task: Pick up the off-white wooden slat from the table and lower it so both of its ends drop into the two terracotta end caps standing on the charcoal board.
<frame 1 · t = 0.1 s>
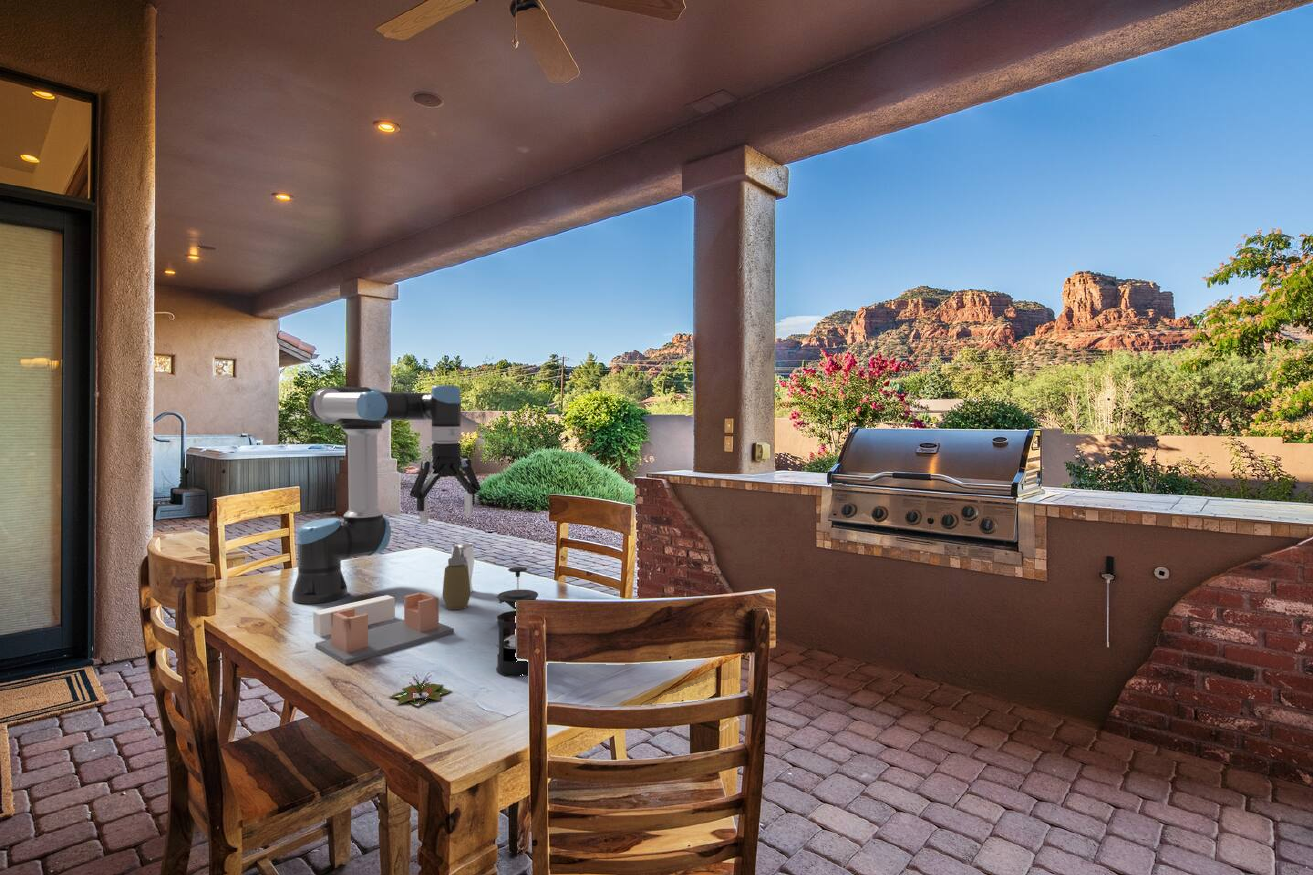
hand: (446, 520, 179), 28 cm above the table, tool pointing down, fingers open, 13 cm apart
slat: (355, 626, 176), on the table
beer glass: (462, 592, 208), on the table
squeeze bottle: (456, 607, 193), on the table
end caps: (387, 640, 165), on the table
french press: (519, 668, 148), on the table
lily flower: (420, 698, 134), on the table
pottery: (519, 635, 170), on the table
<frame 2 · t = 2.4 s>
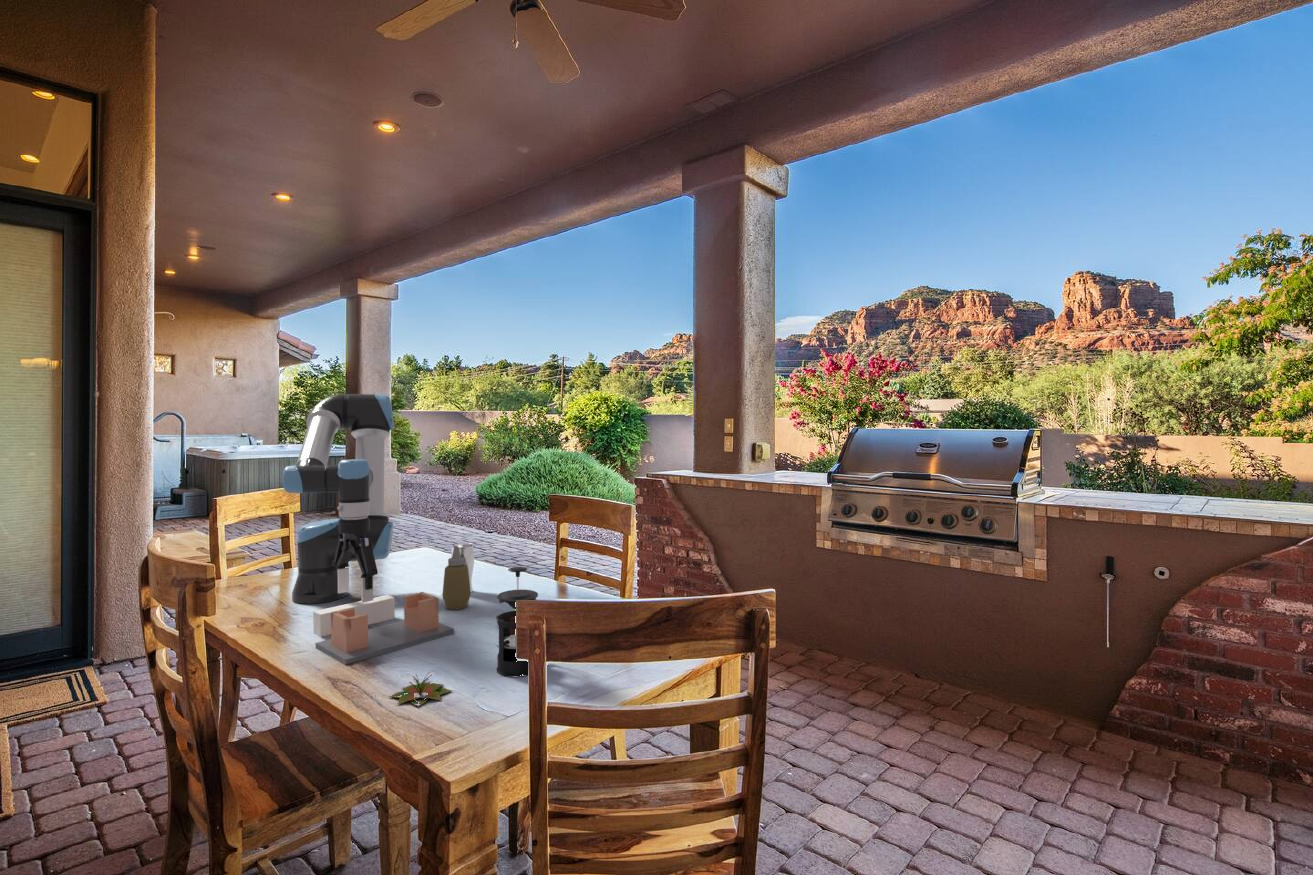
hand: (355, 596, 175), 8 cm above the table, tool pointing down, fingers open, 13 cm apart
nothing on the table moved.
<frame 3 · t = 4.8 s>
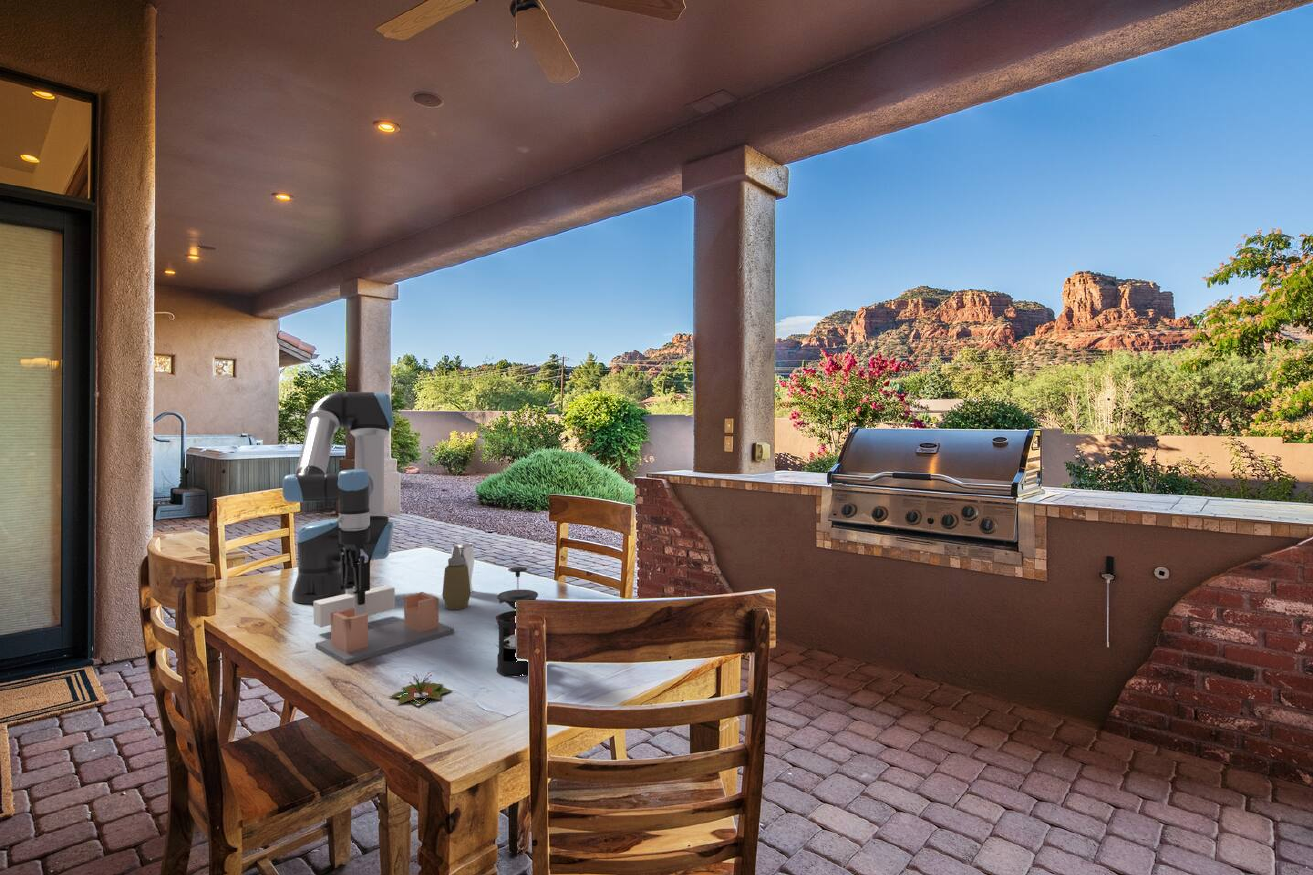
hand: (355, 613, 176), 3 cm above the table, tool pointing down, fingers closed on slat, 4 cm apart
slat: (355, 615, 176), point 2 cm above the table, touching gripper
everything else where it was.
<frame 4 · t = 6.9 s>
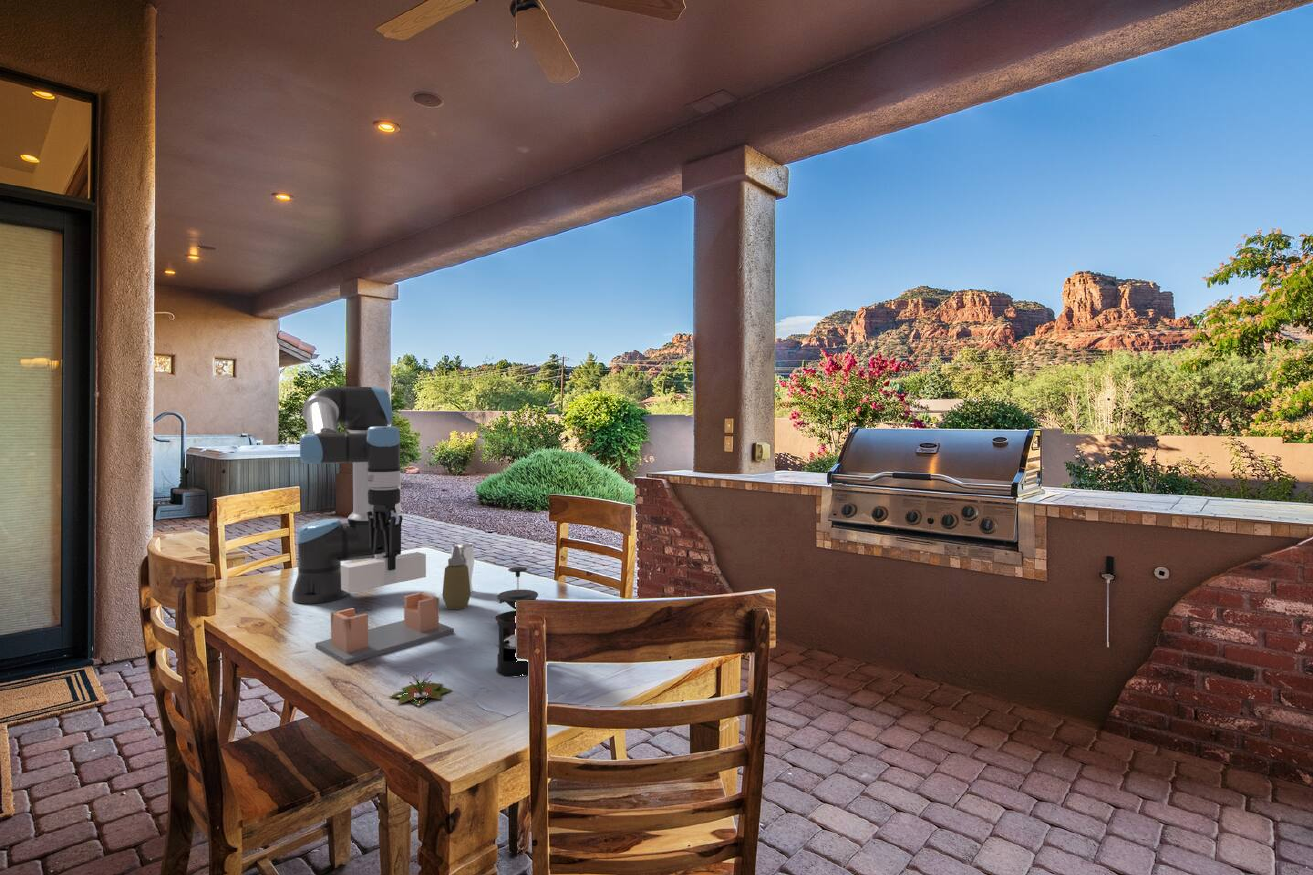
hand: (385, 580, 164), 15 cm above the table, tool pointing down, fingers closed on slat, 4 cm apart
slat: (385, 583, 164), point 15 cm above the table, touching gripper
everything else where it was.
when the fingers open (6 cm above the table, at t = 8.8 s): slat stays where it is, resting on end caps.
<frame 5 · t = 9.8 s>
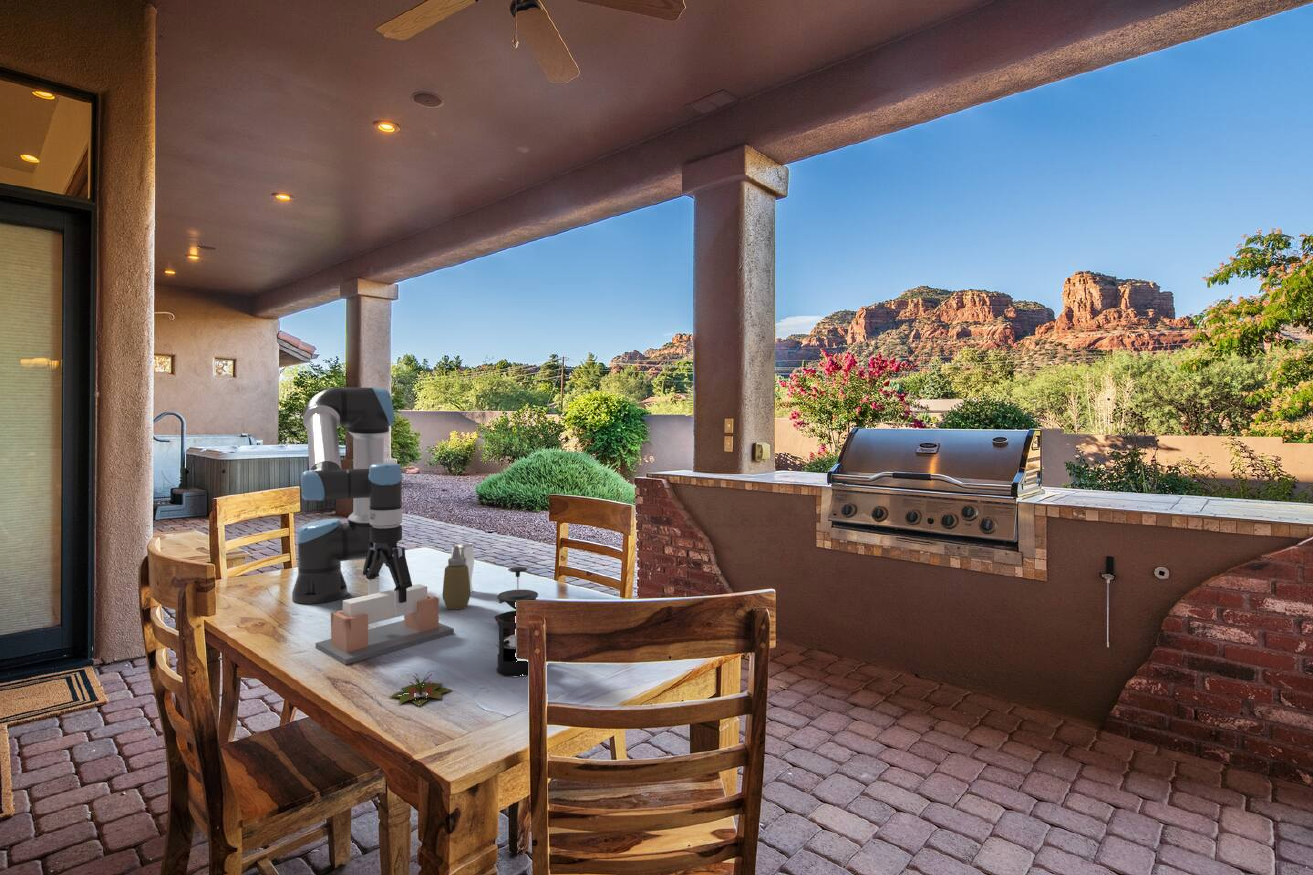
hand: (386, 609, 165), 8 cm above the table, tool pointing down, fingers open, 13 cm apart
slat: (386, 616, 164), point 6 cm above the table, touching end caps
everything else where it was.
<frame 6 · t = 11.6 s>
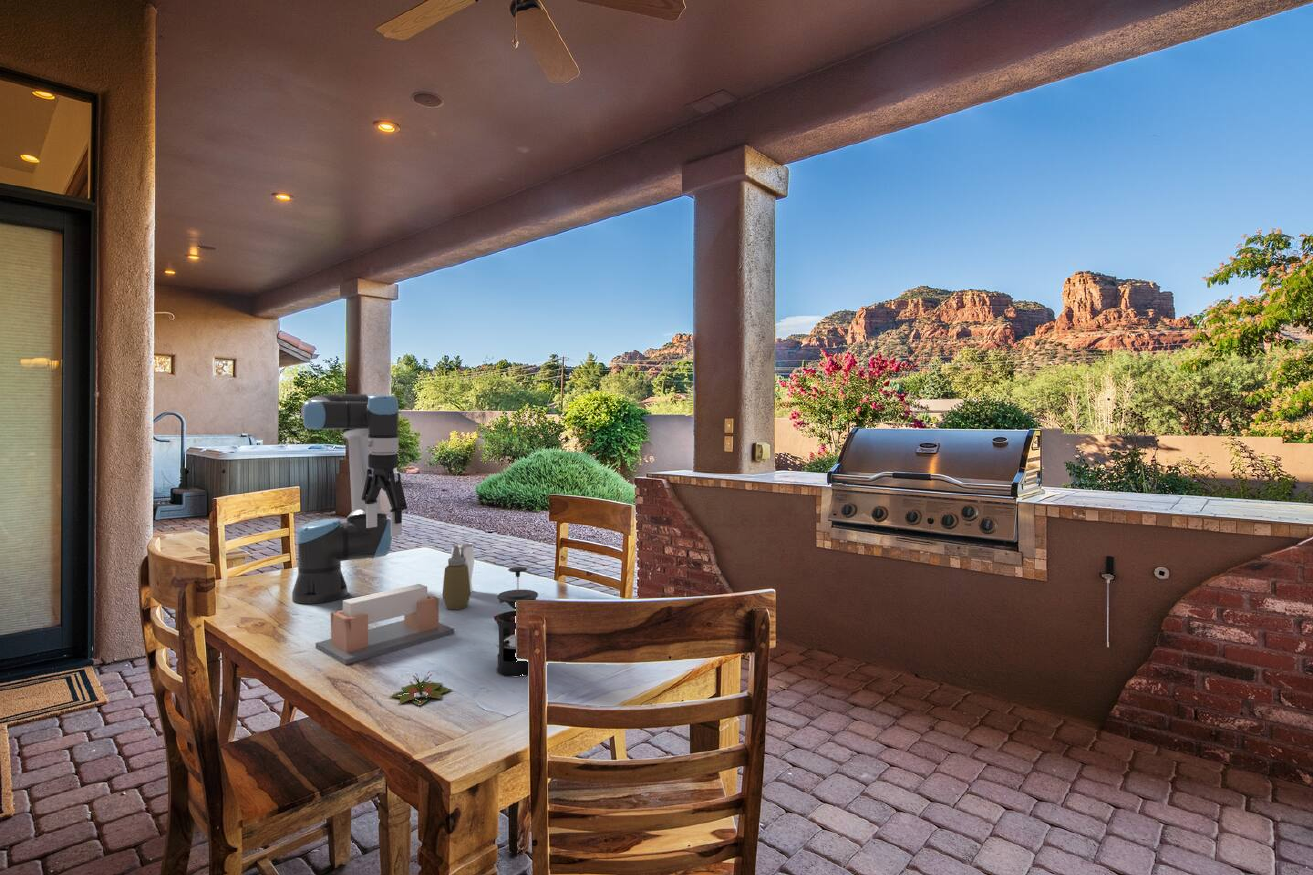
hand: (383, 531, 178), 25 cm above the table, tool pointing down, fingers open, 13 cm apart
nothing on the table moved.
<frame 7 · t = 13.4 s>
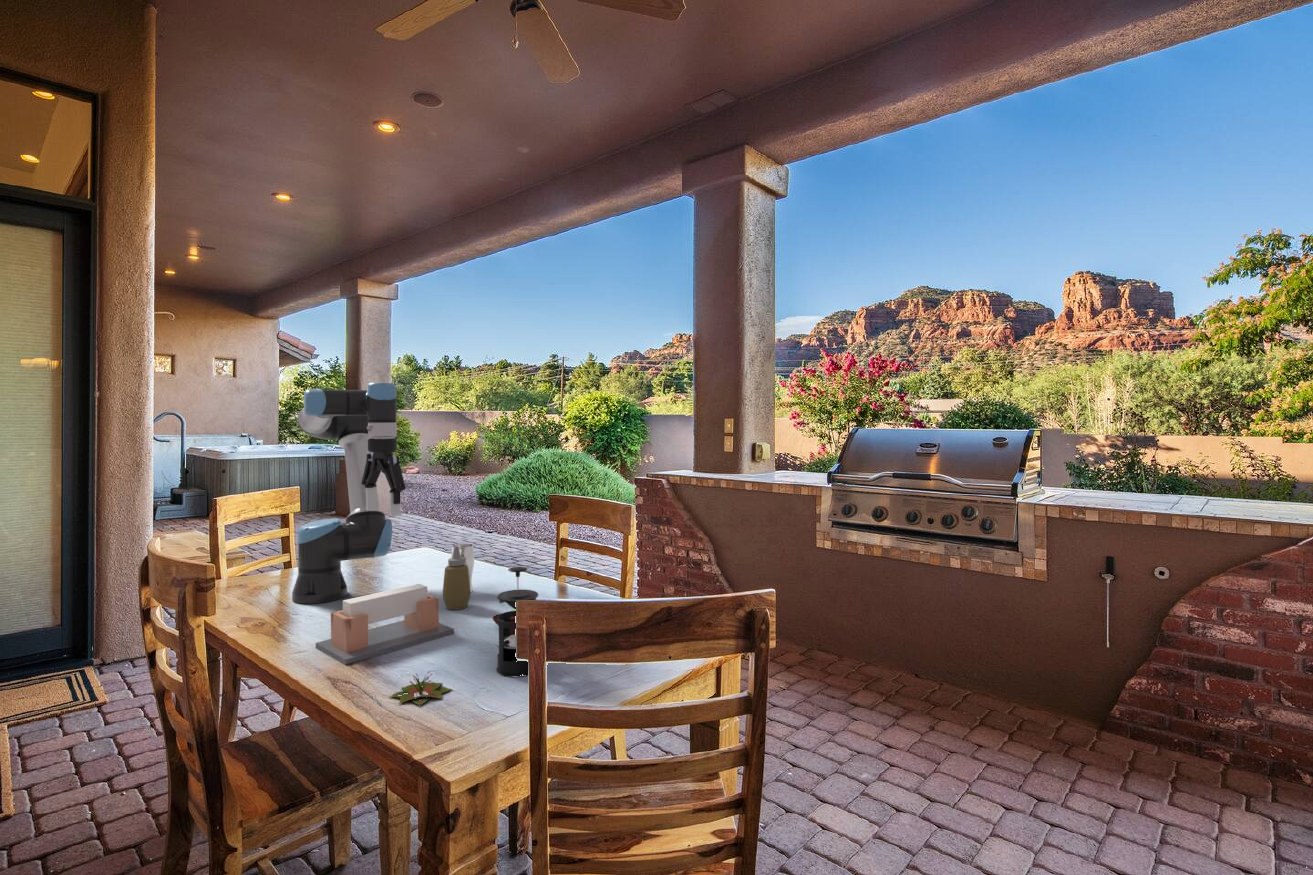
hand: (383, 513, 185), 29 cm above the table, tool pointing down, fingers open, 13 cm apart
nothing on the table moved.
at the end: slat 0.1 cm off-centre on the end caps, point 6.0 cm above the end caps's base; slat tilted 0°; the gripper is holding nothing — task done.
